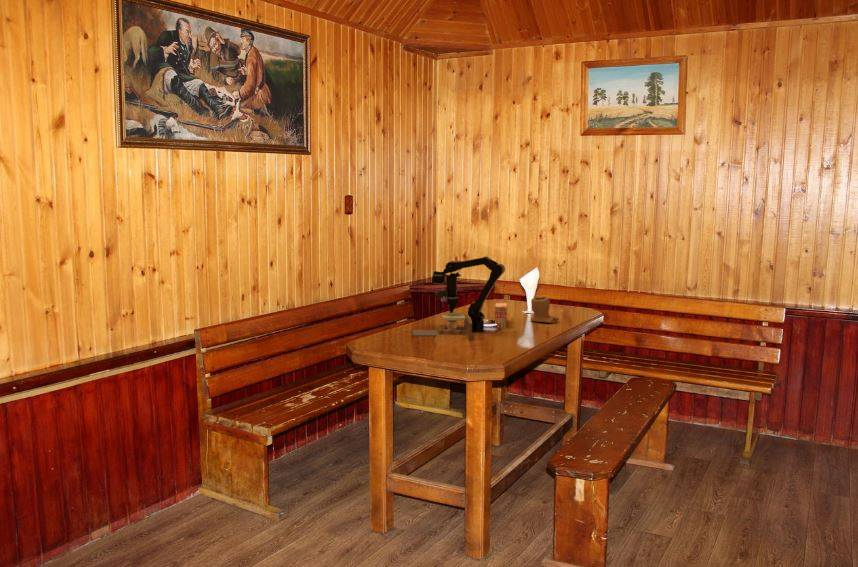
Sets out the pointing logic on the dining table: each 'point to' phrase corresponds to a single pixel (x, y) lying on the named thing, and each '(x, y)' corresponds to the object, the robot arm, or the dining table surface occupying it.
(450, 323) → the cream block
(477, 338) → the dining table surface
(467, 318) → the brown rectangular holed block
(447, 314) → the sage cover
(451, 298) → the robot arm
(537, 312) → the brown boot
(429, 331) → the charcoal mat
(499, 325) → the stack of blocks
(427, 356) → the dining table surface
